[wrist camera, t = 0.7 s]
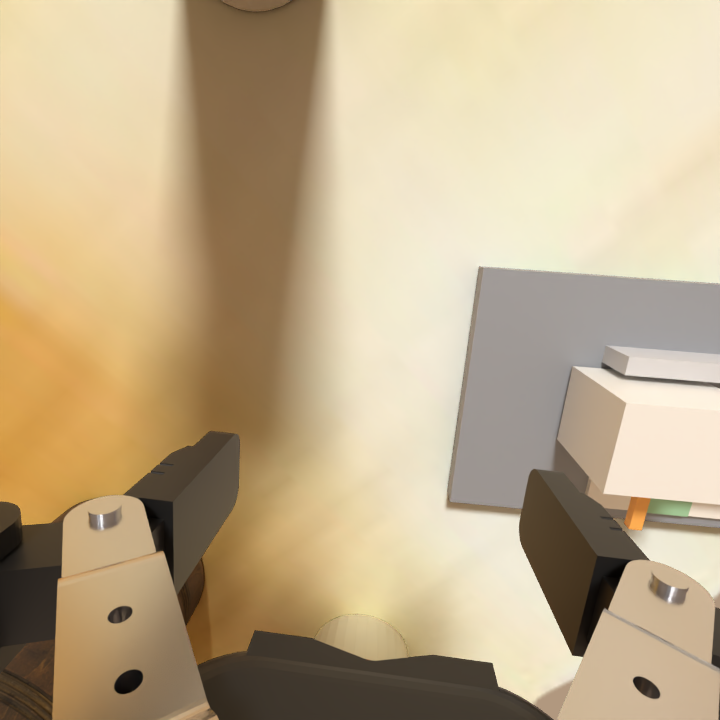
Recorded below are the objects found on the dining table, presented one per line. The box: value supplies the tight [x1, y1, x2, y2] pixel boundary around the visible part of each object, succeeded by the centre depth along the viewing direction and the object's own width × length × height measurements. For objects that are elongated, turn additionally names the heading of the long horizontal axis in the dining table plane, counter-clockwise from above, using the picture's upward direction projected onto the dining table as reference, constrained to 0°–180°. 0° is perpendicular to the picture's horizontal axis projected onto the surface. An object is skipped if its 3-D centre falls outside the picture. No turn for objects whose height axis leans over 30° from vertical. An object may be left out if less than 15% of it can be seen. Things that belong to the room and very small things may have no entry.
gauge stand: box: [448, 266, 720, 528], centre depth 27 cm, size 30×18×10 cm, turn 86°
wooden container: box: [0, 498, 204, 720], centre depth 29 cm, size 15×15×22 cm
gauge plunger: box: [557, 366, 720, 530], centre depth 27 cm, size 8×9×7 cm
